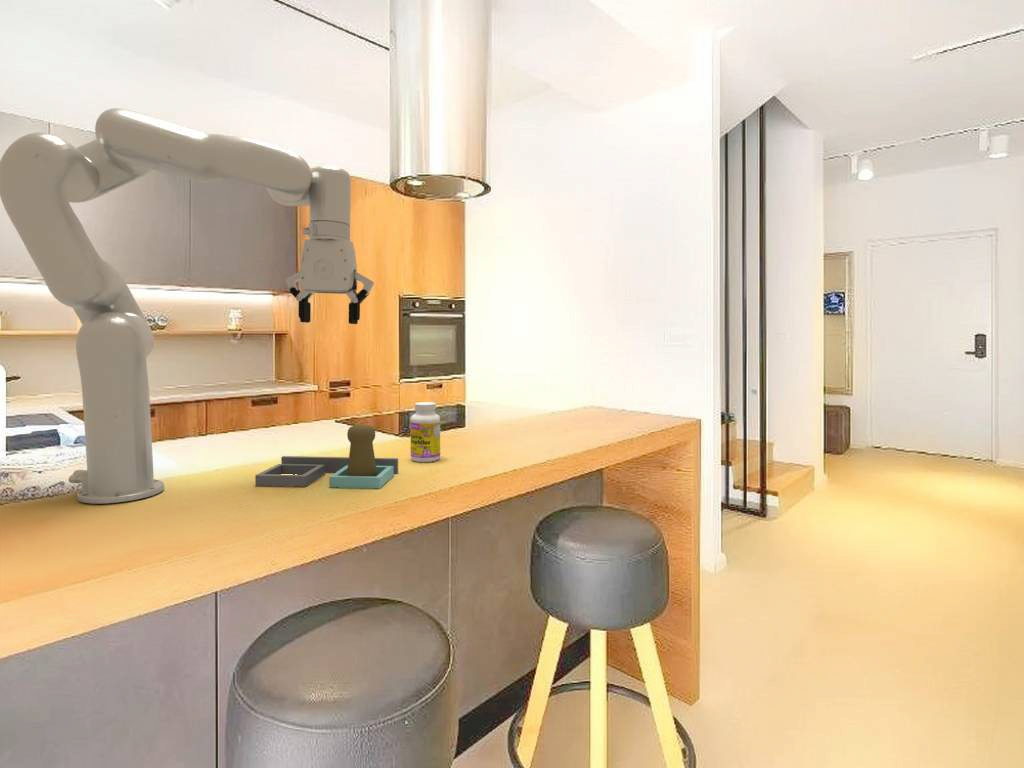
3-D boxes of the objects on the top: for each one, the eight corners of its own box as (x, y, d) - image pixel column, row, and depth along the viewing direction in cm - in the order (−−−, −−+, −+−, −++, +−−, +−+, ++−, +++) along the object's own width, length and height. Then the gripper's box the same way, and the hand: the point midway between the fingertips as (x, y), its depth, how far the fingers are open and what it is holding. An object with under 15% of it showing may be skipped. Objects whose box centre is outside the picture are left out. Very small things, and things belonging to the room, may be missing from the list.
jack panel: (254, 485, 107) (253, 470, 107) (283, 470, 119) (283, 456, 119) (381, 488, 106) (381, 472, 105) (398, 472, 118) (398, 458, 118)
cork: (369, 486, 107) (368, 428, 106) (339, 484, 108) (338, 426, 107) (383, 478, 113) (382, 423, 112) (355, 477, 114) (354, 422, 113)
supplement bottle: (404, 461, 128) (404, 404, 127) (420, 455, 134) (419, 400, 133) (431, 464, 126) (430, 405, 125) (445, 458, 132) (445, 402, 131)
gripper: (277, 229, 108) (277, 321, 110) (367, 231, 107) (365, 324, 108) (295, 237, 116) (295, 322, 117) (379, 238, 115) (378, 325, 116)
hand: (329, 323), depth 113 cm, fingers open, 9 cm apart
